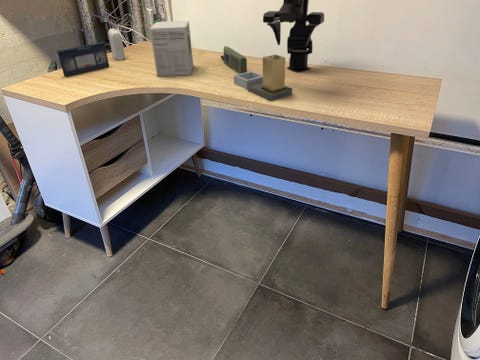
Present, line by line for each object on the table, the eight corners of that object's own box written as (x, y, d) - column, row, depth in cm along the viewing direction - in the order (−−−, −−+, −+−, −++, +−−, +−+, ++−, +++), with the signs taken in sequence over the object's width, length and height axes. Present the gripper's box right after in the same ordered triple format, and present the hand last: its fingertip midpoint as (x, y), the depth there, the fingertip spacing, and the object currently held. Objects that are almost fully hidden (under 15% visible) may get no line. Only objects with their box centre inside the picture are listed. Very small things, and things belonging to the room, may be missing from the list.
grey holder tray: (248, 91, 127) (247, 85, 126) (269, 85, 131) (269, 79, 130) (269, 101, 118) (269, 95, 117) (292, 94, 122) (292, 88, 121)
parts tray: (252, 79, 137) (252, 70, 136) (265, 84, 132) (265, 76, 130) (234, 83, 134) (233, 75, 132) (246, 89, 128) (246, 80, 126)
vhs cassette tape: (66, 77, 148) (58, 51, 142) (63, 76, 150) (56, 50, 144) (110, 67, 157) (104, 43, 152) (107, 66, 159) (102, 41, 154)
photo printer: (126, 59, 167) (120, 30, 161) (117, 61, 166) (110, 31, 159) (121, 54, 175) (115, 26, 168) (112, 56, 173) (105, 27, 167)
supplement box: (190, 75, 144) (185, 27, 135) (156, 76, 144) (149, 28, 135) (194, 65, 155) (189, 20, 146) (162, 66, 156) (155, 21, 146)
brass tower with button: (274, 90, 126) (275, 53, 120) (284, 94, 123) (285, 56, 116) (262, 94, 124) (262, 56, 117) (272, 98, 120) (272, 59, 114)
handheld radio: (239, 76, 142) (218, 60, 161) (247, 75, 143) (225, 59, 162) (239, 58, 138) (217, 44, 158) (247, 57, 139) (225, 43, 159)
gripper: (256, -5, 113) (257, 49, 121) (318, -4, 106) (314, 53, 115) (269, -8, 122) (268, 42, 130) (326, -8, 115) (322, 45, 123)
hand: (292, 45), depth 124 cm, fingers open, 9 cm apart
